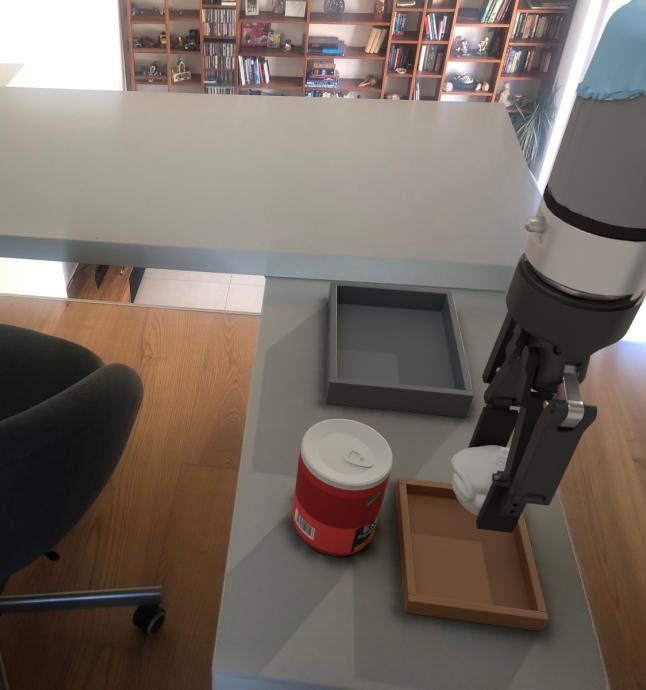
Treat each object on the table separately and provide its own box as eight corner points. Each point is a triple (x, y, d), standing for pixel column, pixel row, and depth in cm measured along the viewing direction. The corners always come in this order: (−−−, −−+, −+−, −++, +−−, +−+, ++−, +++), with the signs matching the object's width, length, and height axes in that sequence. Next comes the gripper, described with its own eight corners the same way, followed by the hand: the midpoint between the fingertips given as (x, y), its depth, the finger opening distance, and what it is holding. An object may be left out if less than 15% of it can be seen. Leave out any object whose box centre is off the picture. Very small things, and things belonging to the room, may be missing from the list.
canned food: (368, 568, 64) (388, 495, 57) (283, 545, 66) (292, 471, 59) (378, 503, 69) (398, 429, 62) (299, 483, 71) (310, 409, 64)
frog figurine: (516, 549, 57) (544, 497, 52) (431, 515, 59) (450, 462, 55) (529, 496, 61) (556, 443, 56) (448, 466, 63) (467, 413, 59)
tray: (541, 631, 59) (549, 620, 58) (404, 612, 61) (408, 600, 59) (512, 503, 69) (518, 491, 68) (394, 489, 71) (398, 477, 69)
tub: (466, 417, 78) (474, 395, 76) (325, 403, 80) (329, 381, 78) (446, 311, 93) (452, 290, 90) (327, 302, 95) (330, 281, 92)
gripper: (496, 191, 51) (430, 408, 66) (556, 362, 37) (455, 589, 52) (604, 197, 50) (512, 416, 65) (709, 376, 36) (560, 603, 51)
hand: (487, 492), depth 59 cm, fingers closed on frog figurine, 6 cm apart
